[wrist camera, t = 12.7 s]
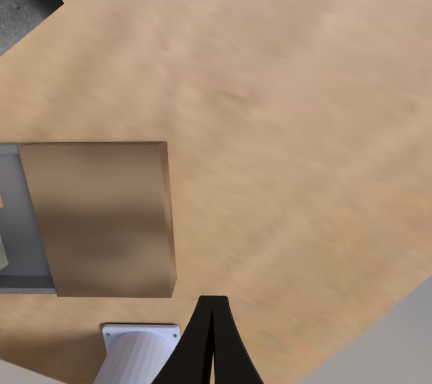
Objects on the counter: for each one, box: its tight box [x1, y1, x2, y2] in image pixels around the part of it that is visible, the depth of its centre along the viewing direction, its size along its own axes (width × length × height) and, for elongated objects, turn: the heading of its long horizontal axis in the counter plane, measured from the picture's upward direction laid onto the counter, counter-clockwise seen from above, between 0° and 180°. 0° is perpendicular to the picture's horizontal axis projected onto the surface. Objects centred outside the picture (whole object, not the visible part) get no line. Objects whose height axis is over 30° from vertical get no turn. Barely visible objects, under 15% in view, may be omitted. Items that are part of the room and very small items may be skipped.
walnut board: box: [18, 142, 177, 298], centre depth 19 cm, size 13×10×2 cm
